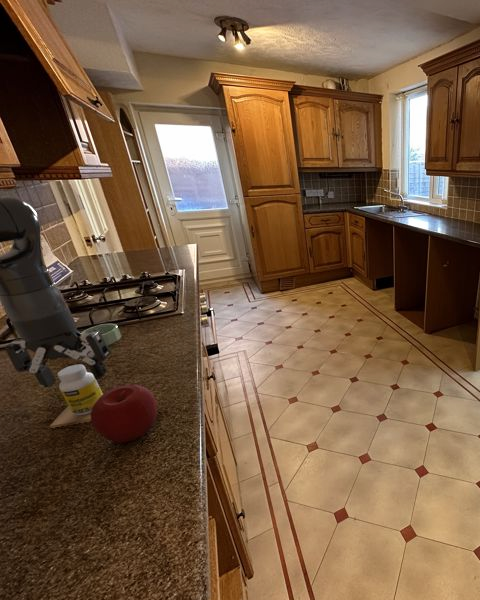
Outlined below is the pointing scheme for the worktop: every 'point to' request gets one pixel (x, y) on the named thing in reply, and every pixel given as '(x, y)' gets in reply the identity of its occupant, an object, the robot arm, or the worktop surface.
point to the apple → (124, 413)
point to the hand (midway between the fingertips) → (76, 380)
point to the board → (70, 418)
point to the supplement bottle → (79, 389)
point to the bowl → (106, 333)
